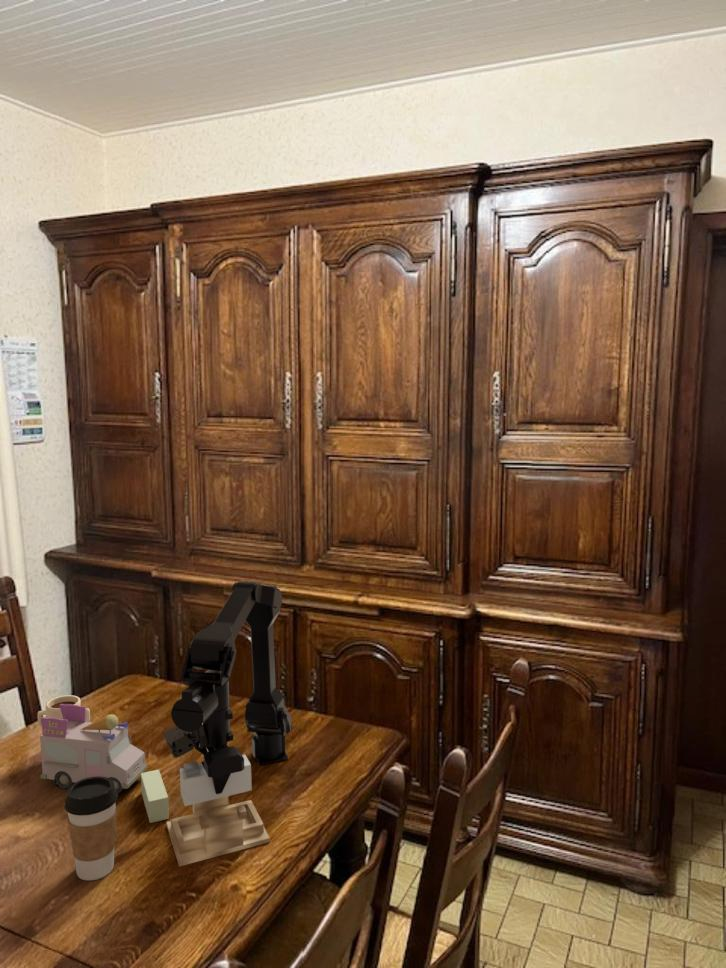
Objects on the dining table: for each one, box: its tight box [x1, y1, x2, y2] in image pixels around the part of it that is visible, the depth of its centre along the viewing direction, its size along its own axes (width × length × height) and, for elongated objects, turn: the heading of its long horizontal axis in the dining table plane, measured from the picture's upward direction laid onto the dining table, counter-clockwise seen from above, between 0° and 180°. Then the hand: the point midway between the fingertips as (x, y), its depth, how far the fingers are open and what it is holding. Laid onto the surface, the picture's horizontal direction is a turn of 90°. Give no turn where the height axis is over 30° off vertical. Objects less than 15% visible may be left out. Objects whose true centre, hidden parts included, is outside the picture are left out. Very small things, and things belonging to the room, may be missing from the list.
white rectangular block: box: [179, 754, 253, 807], centre depth 130 cm, size 12×4×6 cm, turn 114°
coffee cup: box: [63, 776, 119, 881], centre depth 121 cm, size 8×8×15 cm
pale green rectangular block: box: [140, 769, 170, 824], centre depth 140 cm, size 4×11×4 cm, turn 25°
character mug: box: [37, 694, 91, 726], centre depth 158 cm, size 11×7×13 cm, turn 98°
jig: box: [166, 796, 271, 867], centre depth 131 cm, size 16×13×7 cm
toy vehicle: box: [39, 704, 148, 795], centre depth 148 cm, size 9×20×15 cm, turn 78°
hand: (216, 787), depth 130 cm, fingers closed on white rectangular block, 4 cm apart
